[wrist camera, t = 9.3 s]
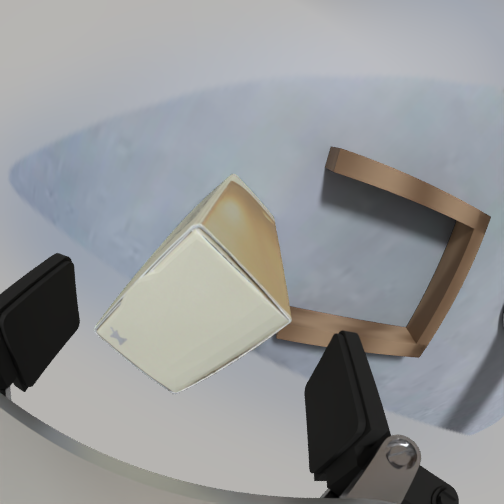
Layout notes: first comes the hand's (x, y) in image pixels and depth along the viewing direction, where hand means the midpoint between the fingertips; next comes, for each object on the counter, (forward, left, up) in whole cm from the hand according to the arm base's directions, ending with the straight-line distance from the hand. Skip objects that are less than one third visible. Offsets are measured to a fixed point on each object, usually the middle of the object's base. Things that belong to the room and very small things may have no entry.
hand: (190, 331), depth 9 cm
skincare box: (0, 0, -12) cm, 12 cm away
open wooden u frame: (-12, 0, -12) cm, 17 cm away
